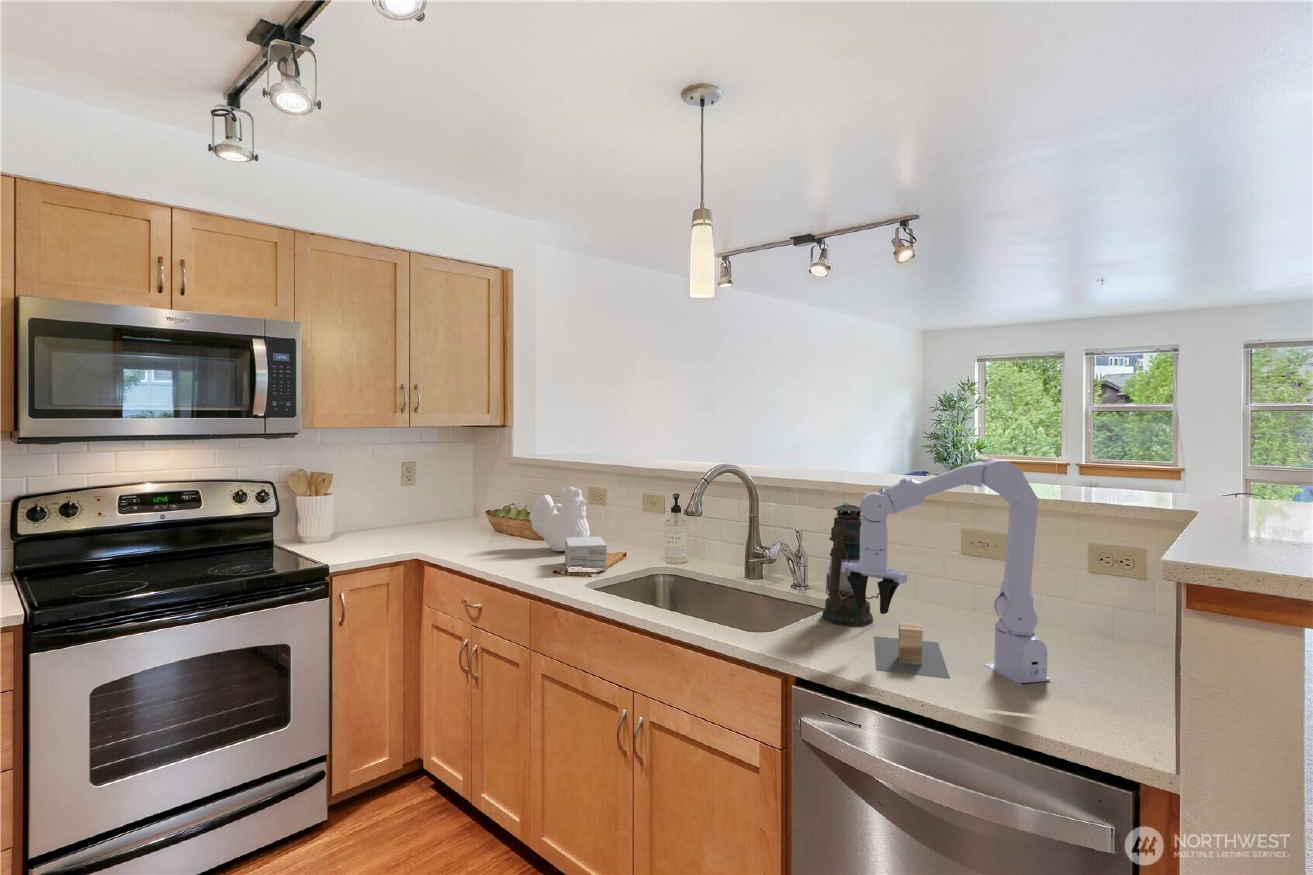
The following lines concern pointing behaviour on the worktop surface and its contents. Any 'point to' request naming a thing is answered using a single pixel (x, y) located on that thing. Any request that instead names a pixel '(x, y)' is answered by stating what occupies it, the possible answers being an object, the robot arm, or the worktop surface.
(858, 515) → the lantern
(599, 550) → the supplement box
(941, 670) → the mat
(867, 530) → the robot arm
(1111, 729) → the worktop surface
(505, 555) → the worktop surface
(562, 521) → the decorative rooster
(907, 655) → the oak block
